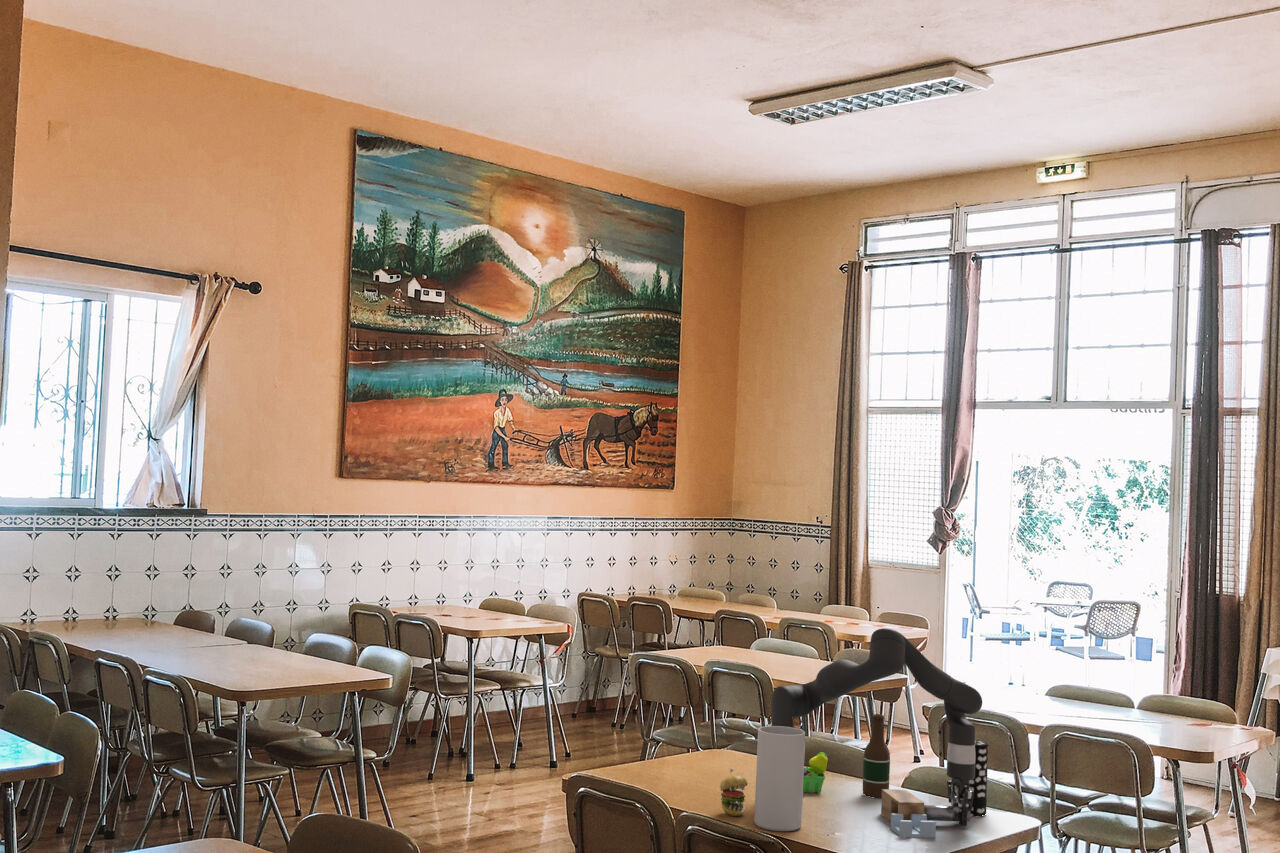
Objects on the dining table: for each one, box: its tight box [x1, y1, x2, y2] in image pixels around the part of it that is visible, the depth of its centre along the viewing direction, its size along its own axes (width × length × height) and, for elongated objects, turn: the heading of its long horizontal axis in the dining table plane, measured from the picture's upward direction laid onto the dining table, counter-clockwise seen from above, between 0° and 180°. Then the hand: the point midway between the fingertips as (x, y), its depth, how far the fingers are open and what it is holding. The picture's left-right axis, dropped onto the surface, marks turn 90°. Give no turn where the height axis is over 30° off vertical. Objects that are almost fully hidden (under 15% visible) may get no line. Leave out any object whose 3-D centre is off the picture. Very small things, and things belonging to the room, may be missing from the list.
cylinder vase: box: [753, 725, 806, 832], centre depth 308 cm, size 12×12×25 cm
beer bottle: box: [862, 713, 891, 799], centre depth 349 cm, size 8×8×24 cm
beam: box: [880, 788, 925, 822], centre depth 319 cm, size 7×14×7 cm, turn 7°
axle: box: [924, 804, 972, 823], centre depth 317 cm, size 14×4×4 cm, turn 97°
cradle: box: [890, 813, 937, 838], centre depth 307 cm, size 10×8×4 cm
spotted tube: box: [968, 739, 989, 817], centre depth 333 cm, size 8×8×20 cm
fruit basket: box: [803, 751, 829, 794], centre depth 352 cm, size 11×9×11 cm
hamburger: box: [719, 768, 748, 817], centre depth 318 cm, size 8×7×12 cm
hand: (959, 823), depth 317 cm, fingers closed on axle, 4 cm apart
